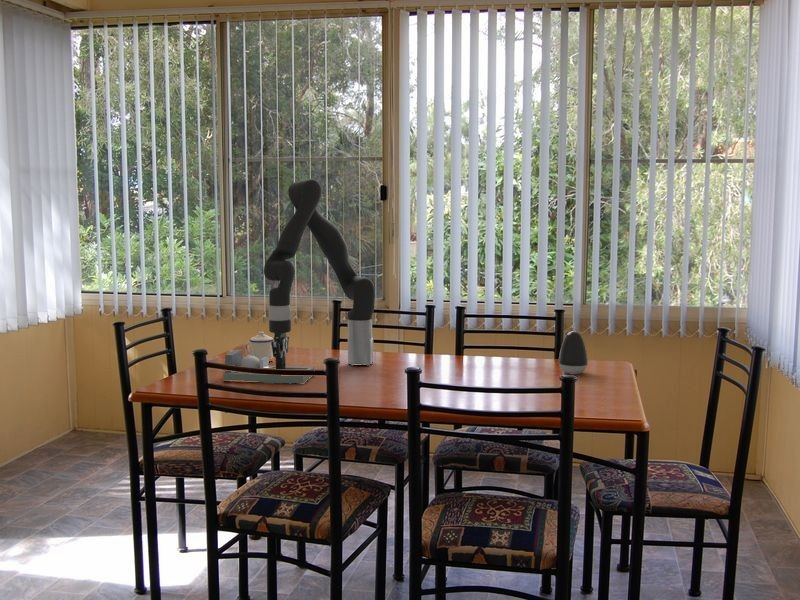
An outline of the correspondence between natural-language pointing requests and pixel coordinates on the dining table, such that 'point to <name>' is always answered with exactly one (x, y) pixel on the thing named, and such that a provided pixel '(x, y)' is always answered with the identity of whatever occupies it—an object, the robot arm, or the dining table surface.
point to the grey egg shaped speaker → (573, 354)
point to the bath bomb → (250, 362)
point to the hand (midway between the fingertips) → (280, 367)
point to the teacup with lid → (260, 346)
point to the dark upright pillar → (265, 361)
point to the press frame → (236, 357)
